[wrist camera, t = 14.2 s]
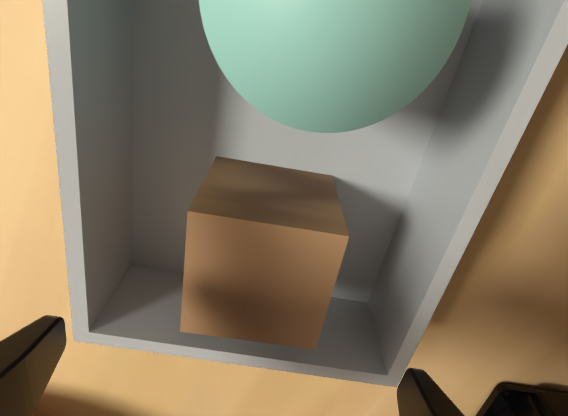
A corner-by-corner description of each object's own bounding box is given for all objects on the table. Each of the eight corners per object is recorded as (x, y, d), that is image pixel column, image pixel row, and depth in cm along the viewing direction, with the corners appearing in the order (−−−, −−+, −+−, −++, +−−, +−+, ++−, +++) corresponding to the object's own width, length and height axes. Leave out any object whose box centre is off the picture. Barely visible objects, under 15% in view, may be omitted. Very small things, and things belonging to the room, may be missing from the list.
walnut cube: (332, 175, 16) (349, 236, 11) (309, 268, 18) (315, 349, 14) (216, 155, 16) (187, 210, 11) (207, 253, 18) (180, 331, 13)
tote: (372, 305, 20) (396, 387, 16) (124, 265, 19) (73, 341, 15) (527, -88, 12) (664, -149, 8) (122, -191, 11) (12, -328, 7)
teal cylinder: (366, 85, 14) (435, 139, 8) (235, 76, 14) (202, 126, 8) (391, -76, 12) (517, -174, 6) (236, -89, 12) (191, -206, 6)
